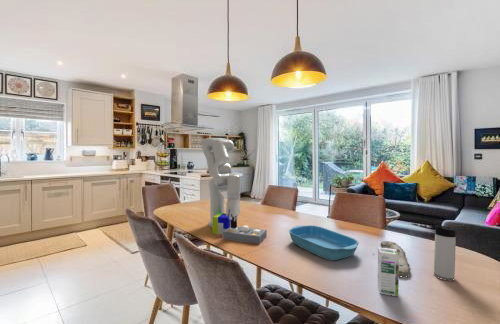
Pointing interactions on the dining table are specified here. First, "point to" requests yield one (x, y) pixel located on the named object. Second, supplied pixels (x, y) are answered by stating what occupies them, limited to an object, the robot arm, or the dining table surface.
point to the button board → (245, 235)
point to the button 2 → (256, 231)
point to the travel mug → (444, 252)
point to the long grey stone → (403, 262)
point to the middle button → (245, 228)
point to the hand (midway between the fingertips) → (233, 227)
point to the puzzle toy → (220, 223)
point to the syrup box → (388, 271)
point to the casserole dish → (323, 242)
